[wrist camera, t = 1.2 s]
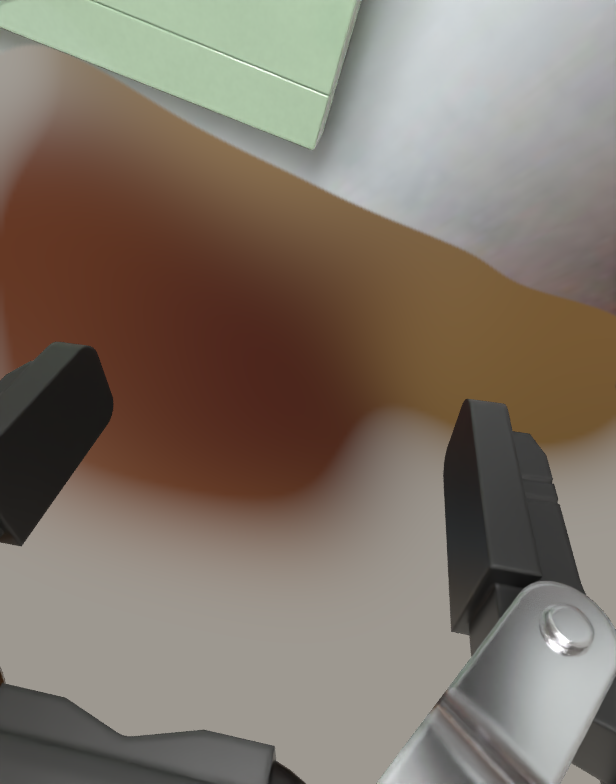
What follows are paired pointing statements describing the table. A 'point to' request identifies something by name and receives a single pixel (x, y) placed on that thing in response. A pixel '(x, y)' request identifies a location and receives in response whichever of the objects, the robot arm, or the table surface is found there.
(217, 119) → the table surface
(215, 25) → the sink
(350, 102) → the table surface
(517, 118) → the table surface
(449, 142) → the table surface
